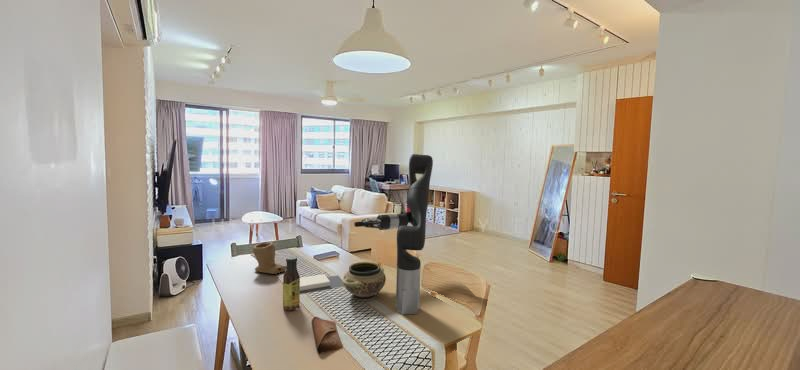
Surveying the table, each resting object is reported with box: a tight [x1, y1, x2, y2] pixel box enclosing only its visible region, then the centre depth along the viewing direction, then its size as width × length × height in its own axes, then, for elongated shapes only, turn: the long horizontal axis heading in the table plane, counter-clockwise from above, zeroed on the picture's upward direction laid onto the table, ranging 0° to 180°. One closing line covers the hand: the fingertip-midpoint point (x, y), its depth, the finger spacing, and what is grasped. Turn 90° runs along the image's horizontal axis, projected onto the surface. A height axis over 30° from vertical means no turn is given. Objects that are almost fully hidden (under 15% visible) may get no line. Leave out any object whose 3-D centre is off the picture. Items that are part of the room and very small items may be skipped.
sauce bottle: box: [282, 256, 301, 312], centre depth 127 cm, size 7×6×20 cm
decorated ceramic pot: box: [342, 261, 387, 301], centre depth 139 cm, size 24×18×15 cm
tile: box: [300, 274, 330, 291], centre depth 149 cm, size 2×10×14 cm
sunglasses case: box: [311, 316, 344, 354], centre depth 108 cm, size 18×7×7 cm
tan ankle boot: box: [252, 241, 287, 275], centre depth 165 cm, size 15×12×15 cm
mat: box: [300, 275, 345, 295], centre depth 150 cm, size 24×14×1 cm, turn 118°
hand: (354, 224), depth 153 cm, fingers closed
